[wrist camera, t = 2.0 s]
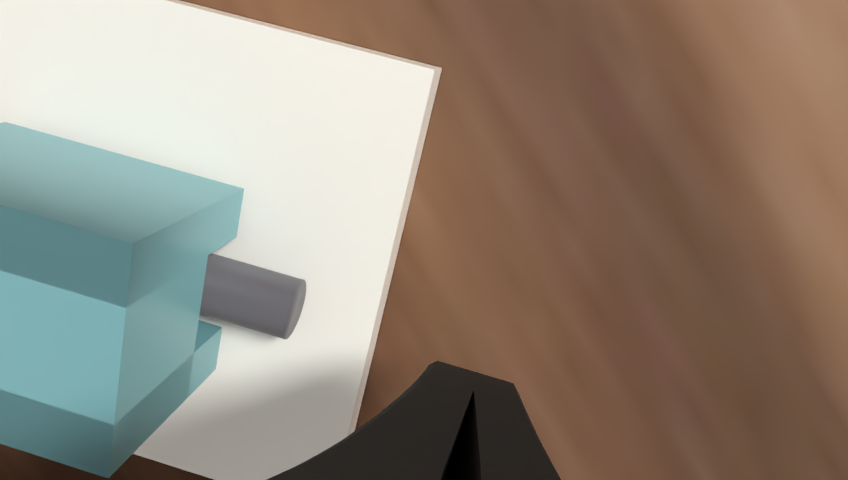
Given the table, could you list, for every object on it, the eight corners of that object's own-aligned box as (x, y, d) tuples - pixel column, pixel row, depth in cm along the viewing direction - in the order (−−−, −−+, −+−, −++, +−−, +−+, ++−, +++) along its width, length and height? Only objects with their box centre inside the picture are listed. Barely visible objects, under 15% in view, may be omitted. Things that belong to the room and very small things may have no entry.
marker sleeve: (215, 369, 14) (108, 478, 10) (-2, 303, 14) (-176, 386, 11) (243, 188, 13) (133, 242, 9) (5, 121, 13) (-188, 150, 10)
